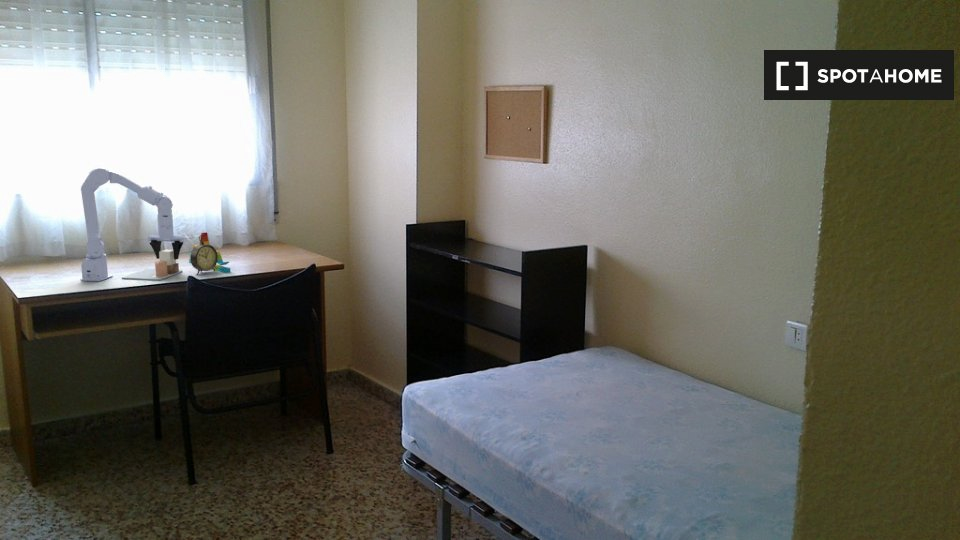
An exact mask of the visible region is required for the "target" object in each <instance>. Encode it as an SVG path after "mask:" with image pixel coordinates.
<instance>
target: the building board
mask: <svg viewBox="0 0 960 540" xmlns="http://www.w3.org/2000/svg"><path fill="white" fill-rule="evenodd" d="M181 273H183V270H180V269H179V272H176V273H173V274H168V276H165V277H157V276H156V270H155V268H145V269H143V270H139V271H137V272H134V273H131V274H128V275H125V276H122V277H121V280H136V281H153V282H154V281H155V282H156V281H157V282H158V281H159V282H160V281H163V280H165V279H168V278H171V277H174V276H176V275H179V274H181Z"/></svg>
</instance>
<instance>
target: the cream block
mask: <svg viewBox="0 0 960 540" xmlns="http://www.w3.org/2000/svg"><path fill="white" fill-rule="evenodd" d="M159 257H160V258H159V261H166V262H167V265H173V264H175V263H177V259H176V260H174V251H173V249H163V250H162V249H161V251H159Z"/></svg>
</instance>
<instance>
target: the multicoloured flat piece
mask: <svg viewBox="0 0 960 540" xmlns="http://www.w3.org/2000/svg"><path fill="white" fill-rule="evenodd" d="M201 234H204V235H205V237H206V238H205V237H204V235H201ZM201 234H200V235H201V236H200V241H204V240H205V241H204V242H203V243H204V245H210V240H209V235H208V232H207V231H205V232H201ZM200 241H199V245H201V242H200ZM197 245H198V244H194V245H193V247H192V250H193V249H194V248H195V247H196V246H197ZM188 255H189V256H191V252H190V253H188ZM217 255H218V260H217V264H216V266H215V267H214V270H215V272H219V273H222V274H226V273H231V267H227V266H225V265H228V264H229V263H230V261H223V257H222V254H221V252H220V251H217ZM188 263H189V264H191V260H190V258H188ZM212 270H213V269H212ZM212 270H211V271H212ZM214 270H213V271H214Z"/></svg>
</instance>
